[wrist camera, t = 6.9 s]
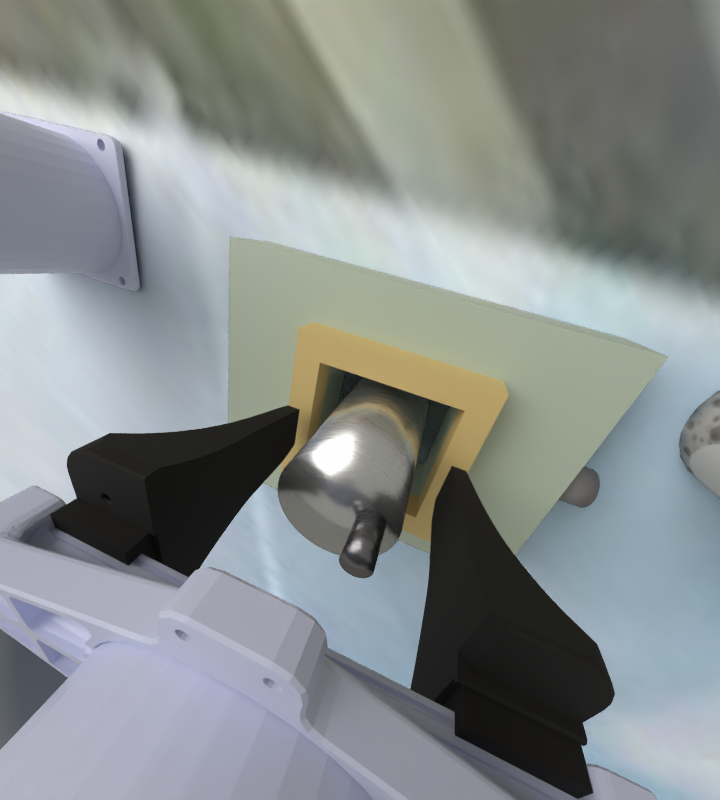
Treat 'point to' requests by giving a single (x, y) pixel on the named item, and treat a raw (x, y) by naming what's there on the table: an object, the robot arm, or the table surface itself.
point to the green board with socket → (433, 377)
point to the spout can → (357, 475)
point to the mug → (703, 443)
